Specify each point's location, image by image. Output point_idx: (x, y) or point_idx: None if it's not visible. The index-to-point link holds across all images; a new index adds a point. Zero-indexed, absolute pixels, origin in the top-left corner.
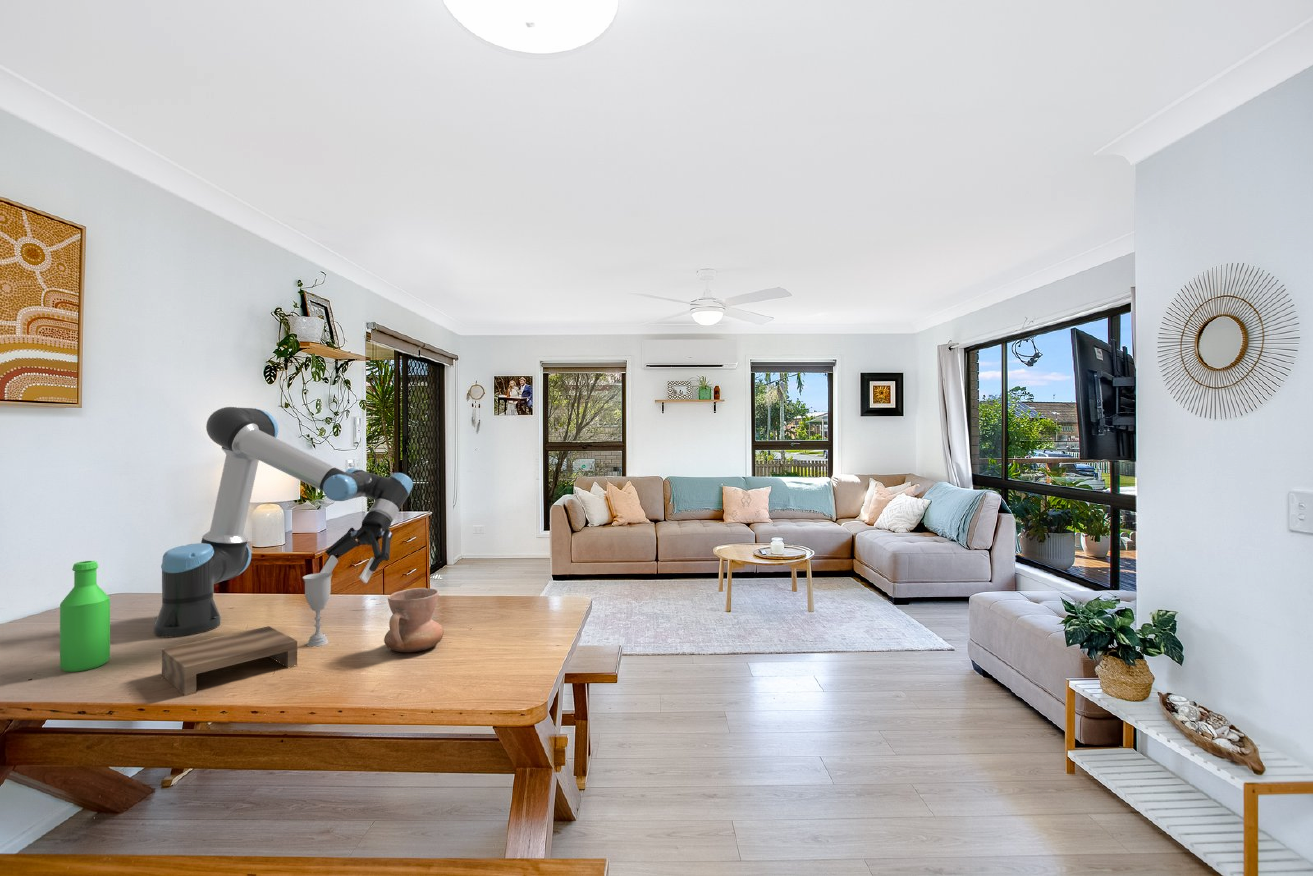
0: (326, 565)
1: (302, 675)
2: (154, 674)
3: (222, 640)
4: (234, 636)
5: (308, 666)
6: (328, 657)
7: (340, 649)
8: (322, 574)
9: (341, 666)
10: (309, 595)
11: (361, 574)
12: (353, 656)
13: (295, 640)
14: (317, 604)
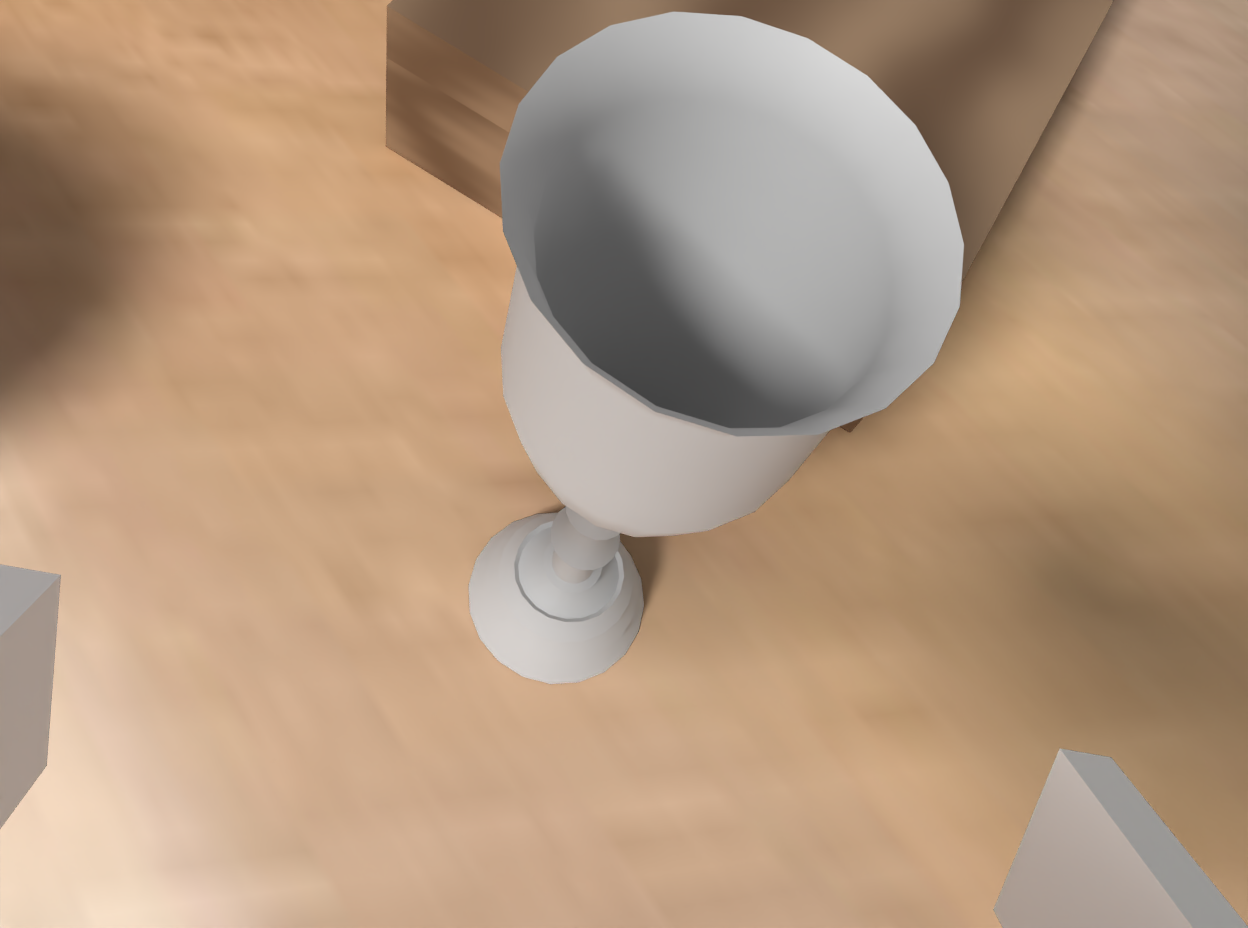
0: (1191, 914)
1: (235, 7)
2: (1113, 56)
3: (959, 35)
4: (958, 104)
5: (294, 137)
6: (246, 293)
7: (248, 466)
8: (814, 419)
9: (29, 132)
10: (666, 217)
11: (10, 610)
12: (32, 317)
13: (405, 11)
14: (574, 341)
